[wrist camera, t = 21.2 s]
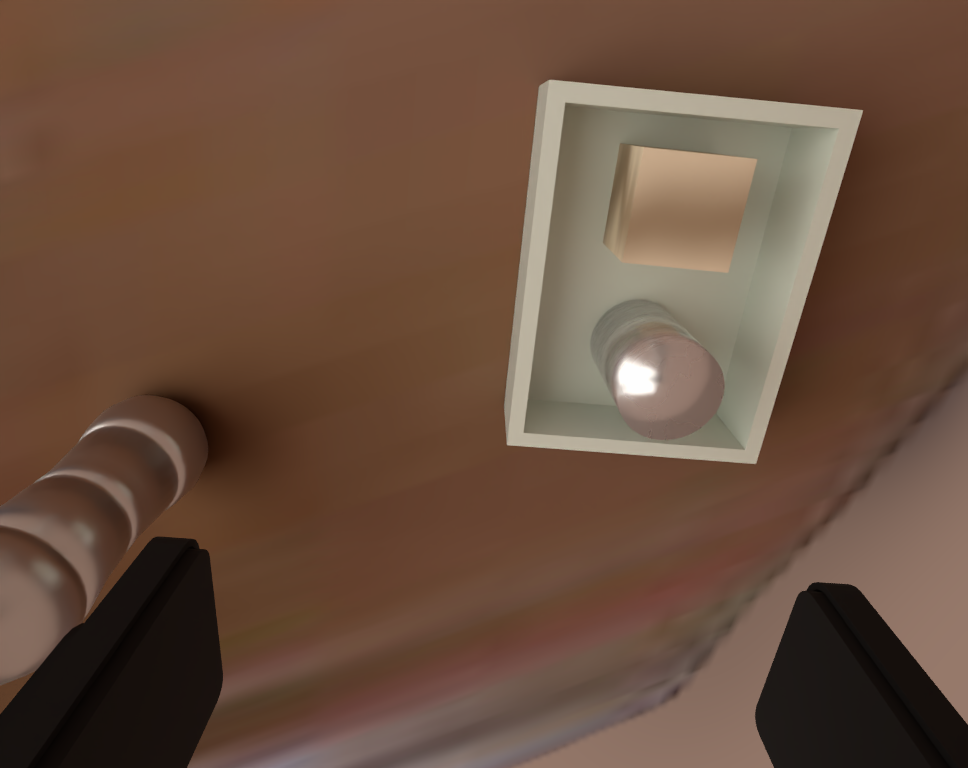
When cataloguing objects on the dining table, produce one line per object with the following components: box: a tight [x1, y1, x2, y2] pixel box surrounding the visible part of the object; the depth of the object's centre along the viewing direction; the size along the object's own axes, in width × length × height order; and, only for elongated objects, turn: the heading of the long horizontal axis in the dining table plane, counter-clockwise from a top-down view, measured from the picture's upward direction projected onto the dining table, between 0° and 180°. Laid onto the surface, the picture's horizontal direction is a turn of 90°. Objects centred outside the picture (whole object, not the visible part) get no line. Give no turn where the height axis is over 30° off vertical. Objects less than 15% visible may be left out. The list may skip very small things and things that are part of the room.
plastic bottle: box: [0, 395, 208, 685], centre depth 29 cm, size 6×7×20 cm
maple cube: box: [603, 143, 757, 273], centre depth 30 cm, size 5×5×5 cm
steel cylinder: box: [590, 300, 725, 440], centre depth 32 cm, size 5×5×7 cm
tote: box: [504, 80, 863, 464], centre depth 32 cm, size 18×14×5 cm
